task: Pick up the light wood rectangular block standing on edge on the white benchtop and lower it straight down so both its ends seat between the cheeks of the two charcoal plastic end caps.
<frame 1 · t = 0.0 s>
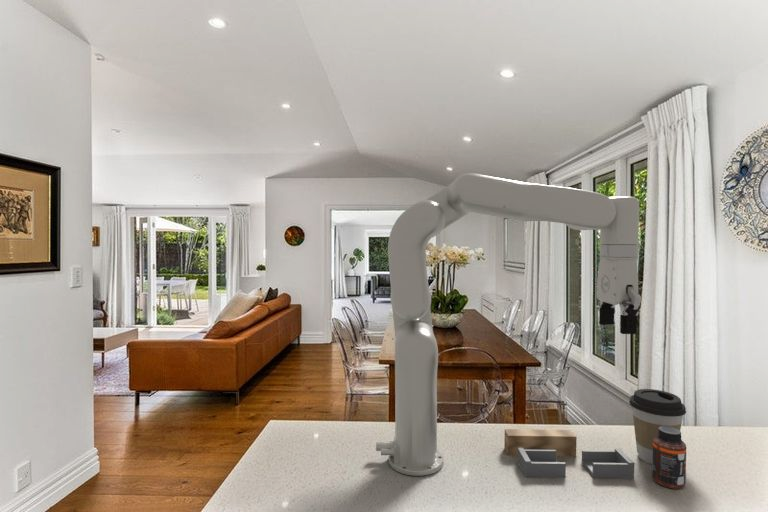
hand: (616, 328, 99), 31 cm above the kitchen island, fingers open, 9 cm apart
supplement bottle: (668, 483, 94), on the kitchen island
cap a: (524, 469, 99), on the kitchen island
light wood rectangular block: (539, 453, 107), on the kitchen island
cap b: (623, 470, 98), on the kitchen island
coffee cup: (655, 459, 104), on the kitchen island
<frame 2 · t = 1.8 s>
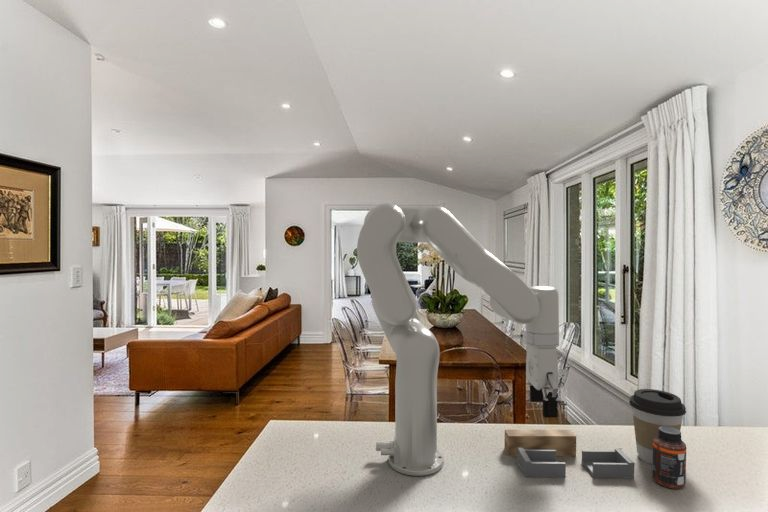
hand: (543, 408, 107), 11 cm above the kitchen island, fingers open, 9 cm apart
nothing on the kitchen island moved.
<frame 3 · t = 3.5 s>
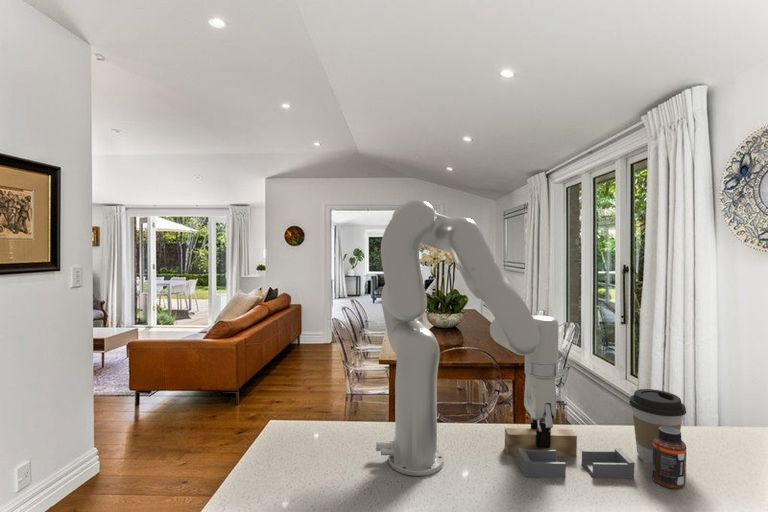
hand: (540, 442, 107), 2 cm above the kitchen island, fingers closed on light wood rectangular block, 3 cm apart
light wood rectangular block: (539, 452, 107), on the kitchen island, touching gripper
everything else where it was.
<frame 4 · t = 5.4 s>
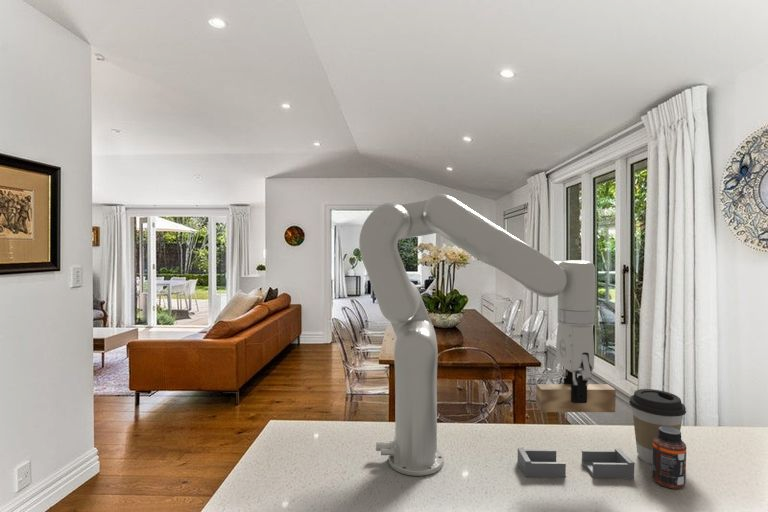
hand: (574, 398, 98), 16 cm above the kitchen island, fingers closed on light wood rectangular block, 3 cm apart
light wood rectangular block: (574, 409, 98), point 14 cm above the kitchen island, touching gripper
everything else where it was.
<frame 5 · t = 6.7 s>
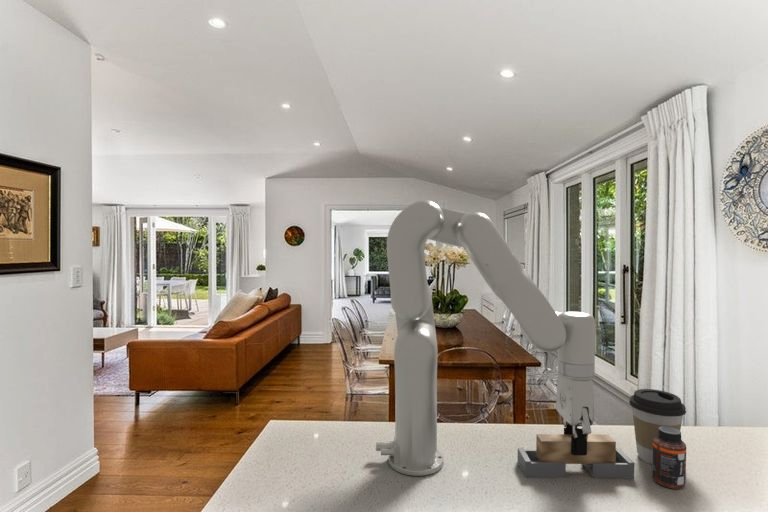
hand: (575, 449, 99), 5 cm above the kitchen island, fingers closed on light wood rectangular block, 3 cm apart
light wood rectangular block: (575, 459, 99), point 2 cm above the kitchen island, touching gripper
everything else where it was.
when the fingers open (4 cm above the kitchen island, at t = 7.4 s): light wood rectangular block stays where it is, resting on cap a, cap b.
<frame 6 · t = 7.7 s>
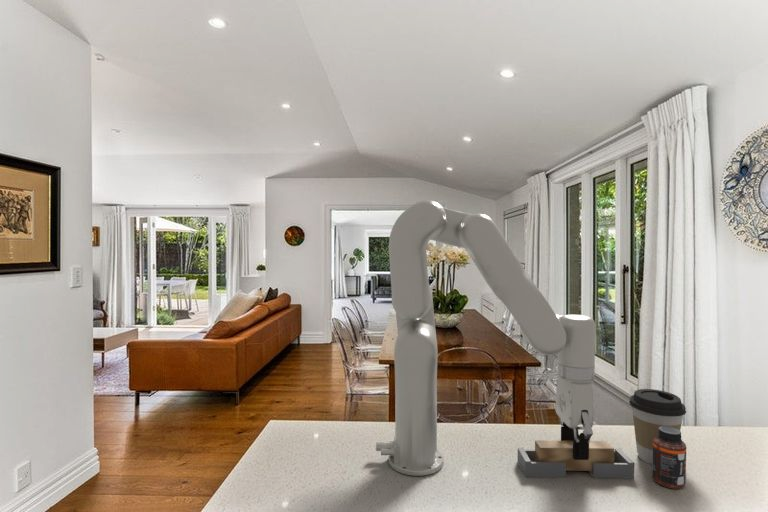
hand: (574, 450, 99), 4 cm above the kitchen island, fingers open, 6 cm apart
light wood rectangular block: (573, 466, 99), point 1 cm above the kitchen island, touching cap a, cap b
everything else where it was.
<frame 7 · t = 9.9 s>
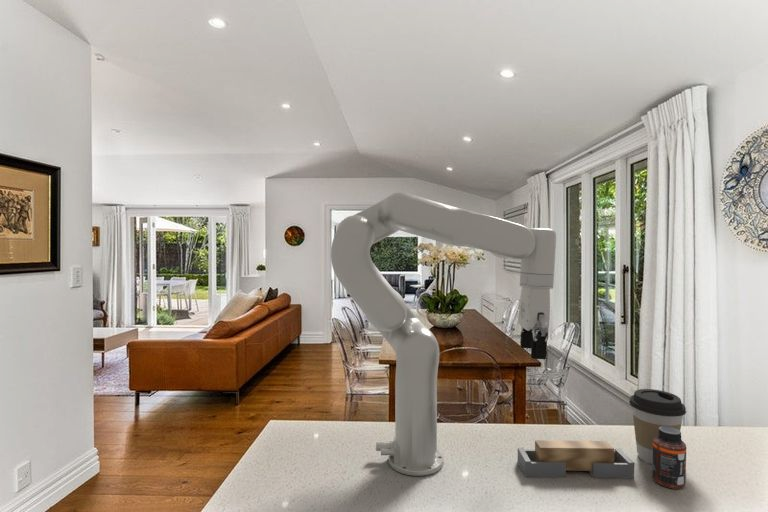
hand: (532, 353, 105), 24 cm above the kitchen island, fingers open, 9 cm apart
nothing on the kitchen island moved.
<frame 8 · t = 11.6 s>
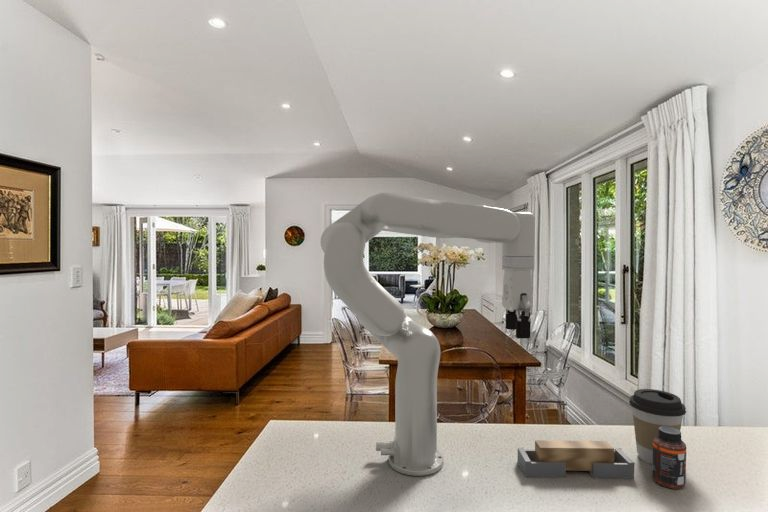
hand: (517, 333, 108), 28 cm above the kitchen island, fingers open, 9 cm apart
nothing on the kitchen island moved.
at the end: light wood rectangular block 0.1 cm from the target spot, point 0.8 cm above the kitchen island; light wood rectangular block tilted 0°; the gripper is holding nothing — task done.
